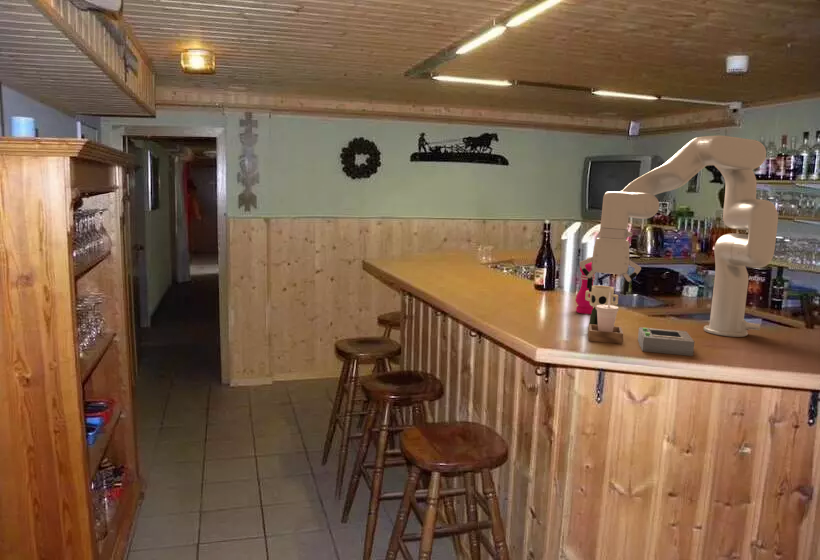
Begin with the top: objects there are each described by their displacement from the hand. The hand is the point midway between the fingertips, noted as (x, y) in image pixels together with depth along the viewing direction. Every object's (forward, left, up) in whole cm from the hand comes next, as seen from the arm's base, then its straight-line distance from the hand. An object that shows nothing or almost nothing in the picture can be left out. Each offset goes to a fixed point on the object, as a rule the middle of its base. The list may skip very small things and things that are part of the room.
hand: (607, 292), depth 185 cm
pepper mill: (+5, -39, -14) cm, 42 cm away
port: (-16, +5, -14) cm, 22 cm away
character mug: (+1, -16, -14) cm, 22 cm away
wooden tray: (0, 0, -14) cm, 14 cm away
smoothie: (0, 0, -14) cm, 14 cm away
